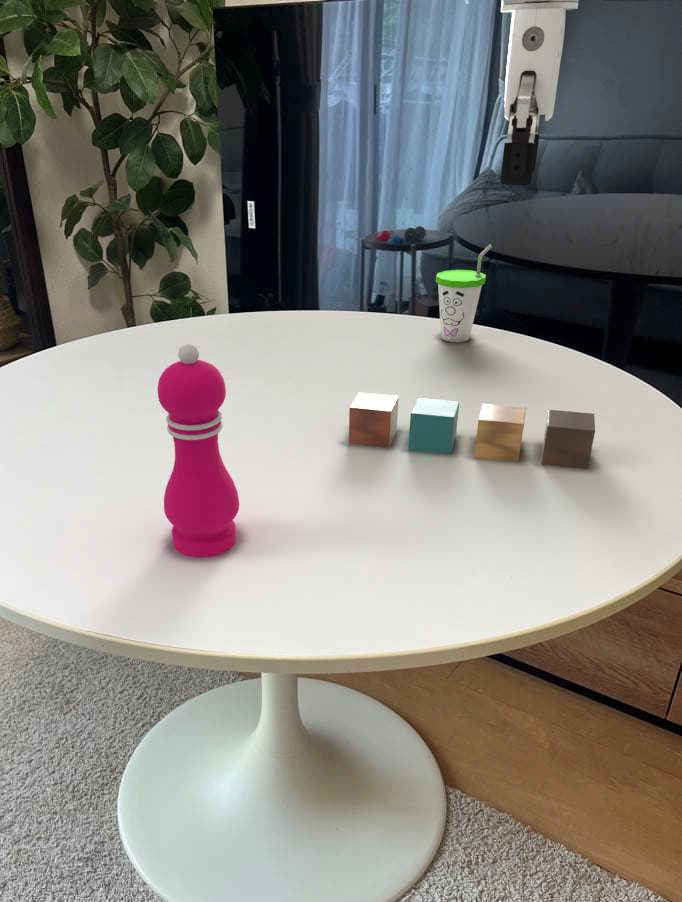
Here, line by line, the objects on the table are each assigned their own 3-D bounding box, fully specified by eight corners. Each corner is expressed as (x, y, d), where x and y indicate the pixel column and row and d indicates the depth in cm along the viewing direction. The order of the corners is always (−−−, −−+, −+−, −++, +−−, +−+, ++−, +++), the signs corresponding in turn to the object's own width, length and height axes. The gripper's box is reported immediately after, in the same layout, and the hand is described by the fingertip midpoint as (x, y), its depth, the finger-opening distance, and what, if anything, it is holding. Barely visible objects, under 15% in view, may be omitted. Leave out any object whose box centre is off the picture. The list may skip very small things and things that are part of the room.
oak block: (520, 446, 95) (526, 407, 92) (518, 464, 91) (524, 424, 88) (477, 442, 96) (482, 403, 93) (473, 459, 92) (478, 419, 89)
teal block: (455, 439, 97) (459, 401, 94) (450, 456, 93) (454, 417, 90) (414, 435, 98) (417, 397, 95) (408, 452, 94) (410, 413, 91)
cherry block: (396, 433, 99) (398, 395, 96) (389, 450, 95) (391, 411, 92) (357, 429, 100) (358, 392, 97) (348, 445, 96) (349, 407, 93)
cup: (423, 342, 129) (429, 246, 121) (443, 329, 134) (450, 237, 127) (468, 350, 125) (478, 251, 117) (486, 336, 131) (497, 242, 123)
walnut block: (586, 453, 93) (594, 413, 90) (587, 471, 89) (595, 430, 86) (542, 448, 94) (548, 409, 91) (540, 466, 90) (547, 426, 87)
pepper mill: (248, 526, 80) (238, 332, 70) (232, 565, 74) (218, 359, 64) (180, 521, 81) (160, 330, 71) (158, 559, 75) (133, 356, 65)
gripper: (580, -14, 72) (551, 190, 81) (579, -5, 86) (554, 168, 95) (495, -10, 74) (476, 189, 83) (508, -1, 88) (490, 168, 97)
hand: (517, 178), depth 89 cm, fingers open, 9 cm apart
